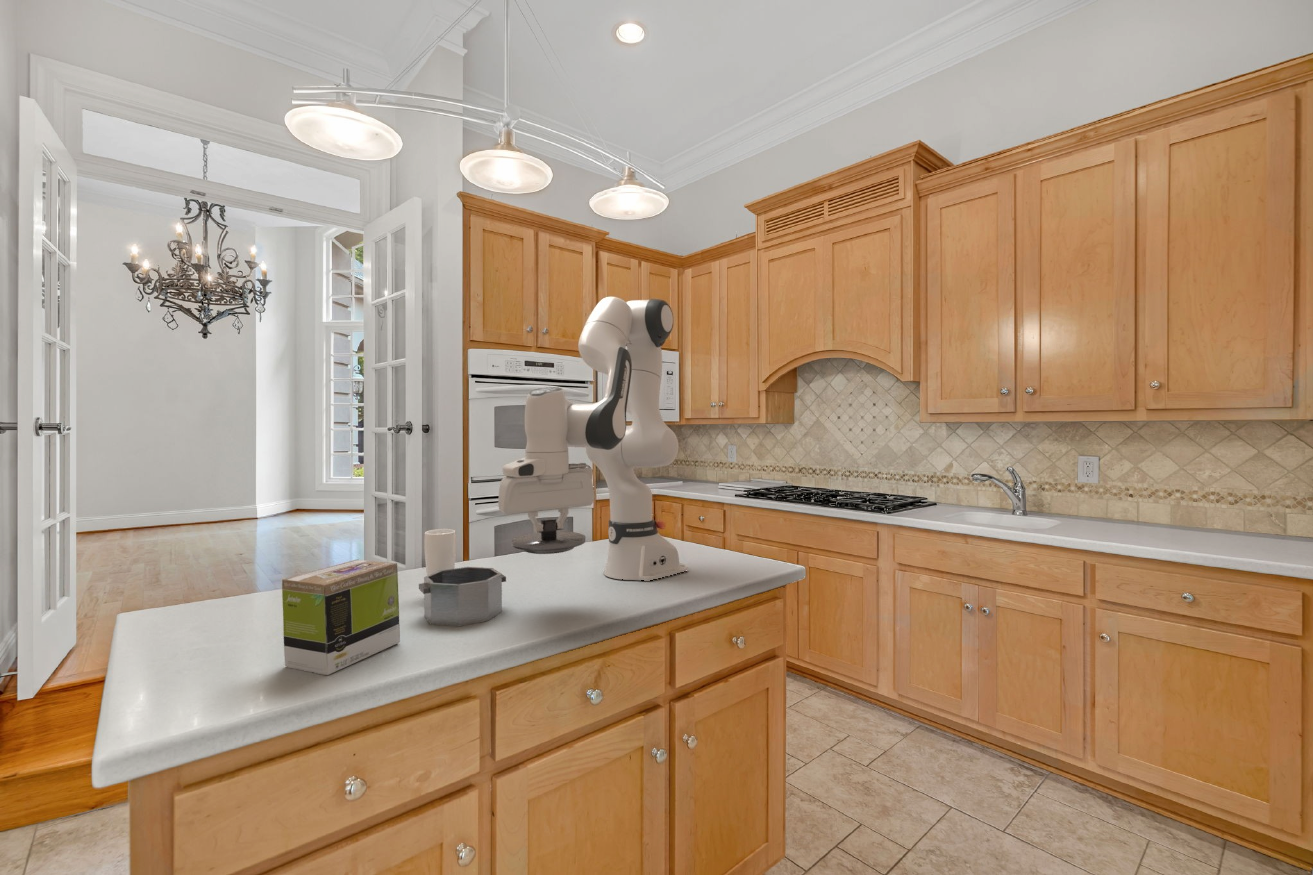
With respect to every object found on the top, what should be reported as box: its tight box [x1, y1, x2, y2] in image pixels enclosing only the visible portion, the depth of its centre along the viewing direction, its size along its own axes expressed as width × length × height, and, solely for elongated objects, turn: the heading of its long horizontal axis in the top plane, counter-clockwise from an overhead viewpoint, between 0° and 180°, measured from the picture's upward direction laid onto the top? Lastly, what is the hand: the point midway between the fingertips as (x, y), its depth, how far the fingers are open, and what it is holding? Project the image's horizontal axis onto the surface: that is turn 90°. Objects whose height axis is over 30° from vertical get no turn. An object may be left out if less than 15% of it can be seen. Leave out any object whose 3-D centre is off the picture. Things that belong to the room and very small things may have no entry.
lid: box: [511, 517, 586, 555], centre depth 123 cm, size 15×15×6 cm
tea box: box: [281, 559, 401, 676], centre depth 100 cm, size 15×10×15 cm
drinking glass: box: [423, 528, 457, 576], centre depth 134 cm, size 7×7×15 cm
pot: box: [418, 566, 507, 627], centre depth 122 cm, size 17×14×8 cm
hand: (548, 531), depth 123 cm, fingers closed on lid, 3 cm apart
